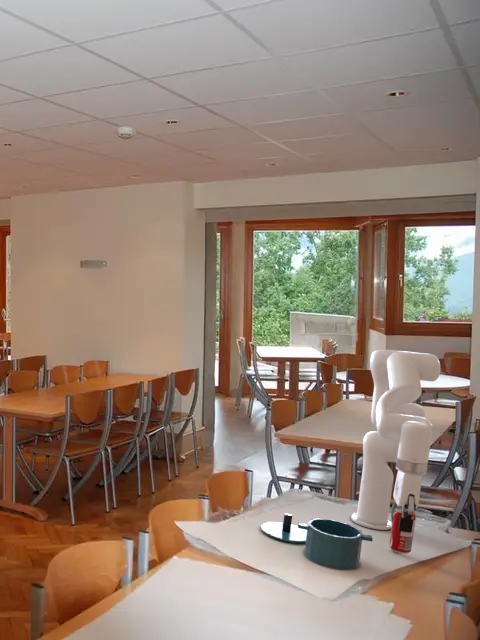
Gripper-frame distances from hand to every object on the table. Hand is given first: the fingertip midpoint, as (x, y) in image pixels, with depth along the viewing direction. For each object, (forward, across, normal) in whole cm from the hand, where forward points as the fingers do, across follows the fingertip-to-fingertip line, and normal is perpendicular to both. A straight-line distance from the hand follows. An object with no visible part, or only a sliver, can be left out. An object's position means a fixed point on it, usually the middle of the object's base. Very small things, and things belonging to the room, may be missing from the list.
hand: (402, 526), depth 211 cm
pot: (+14, -2, -17) cm, 22 cm away
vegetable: (+15, -17, +2) cm, 23 cm away
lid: (+14, -16, -29) cm, 36 cm away
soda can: (+7, 0, 0) cm, 7 cm away
